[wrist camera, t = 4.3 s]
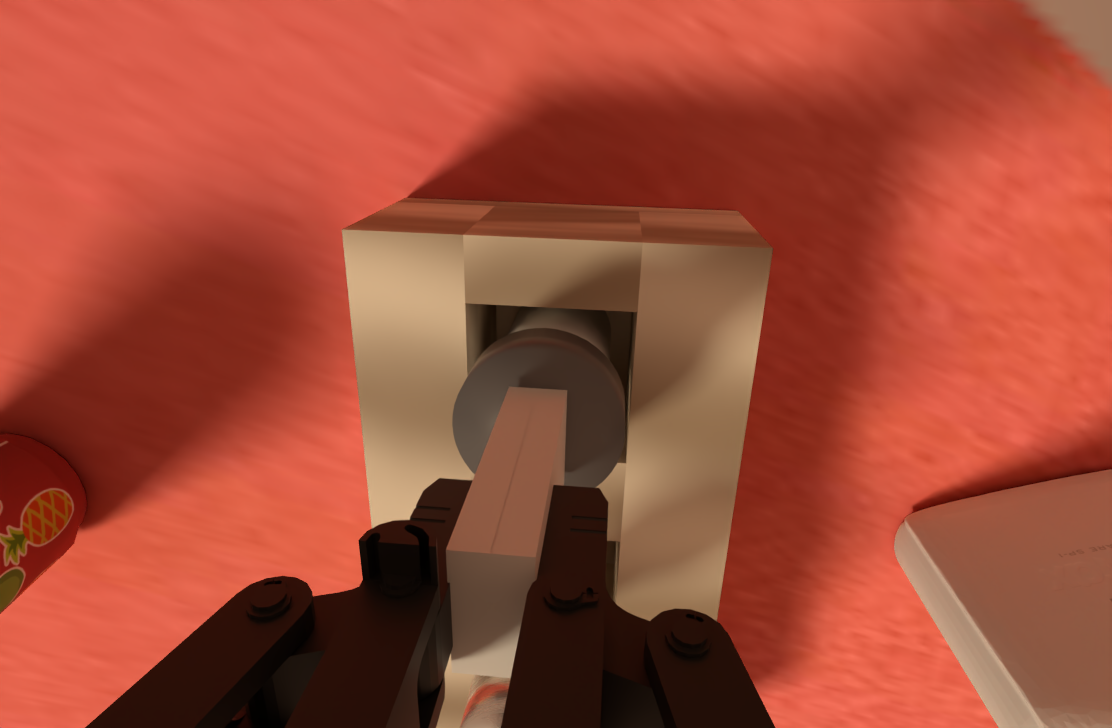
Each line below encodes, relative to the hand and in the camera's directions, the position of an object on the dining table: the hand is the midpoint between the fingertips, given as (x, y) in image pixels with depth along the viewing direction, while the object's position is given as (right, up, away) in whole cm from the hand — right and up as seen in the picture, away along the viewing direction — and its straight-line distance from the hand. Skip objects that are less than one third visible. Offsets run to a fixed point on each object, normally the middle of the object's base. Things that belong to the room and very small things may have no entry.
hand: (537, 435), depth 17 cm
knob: (+1, +3, +7) cm, 8 cm away
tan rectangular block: (+1, -4, +11) cm, 12 cm away
